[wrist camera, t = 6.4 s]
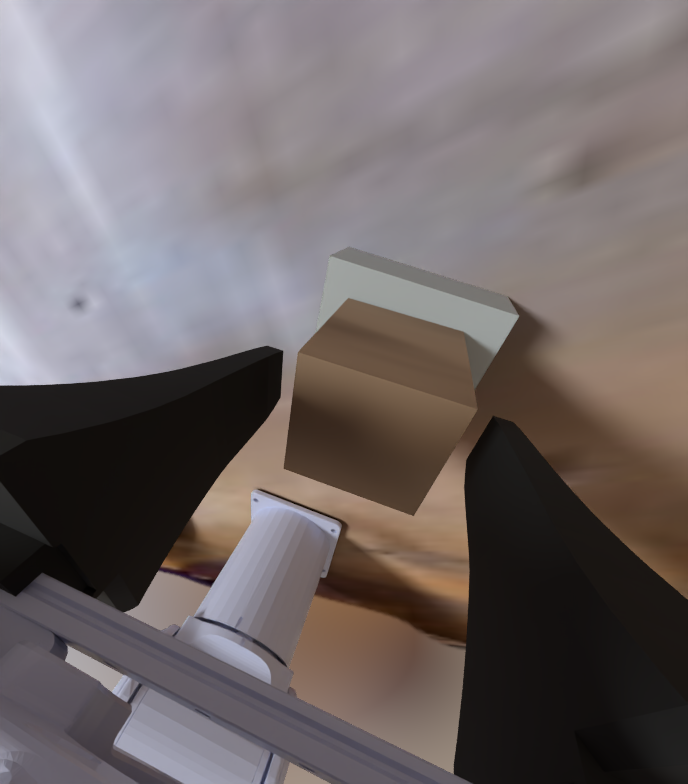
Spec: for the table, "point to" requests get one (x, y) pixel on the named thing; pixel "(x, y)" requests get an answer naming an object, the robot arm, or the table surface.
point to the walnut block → (379, 404)
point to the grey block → (421, 301)
